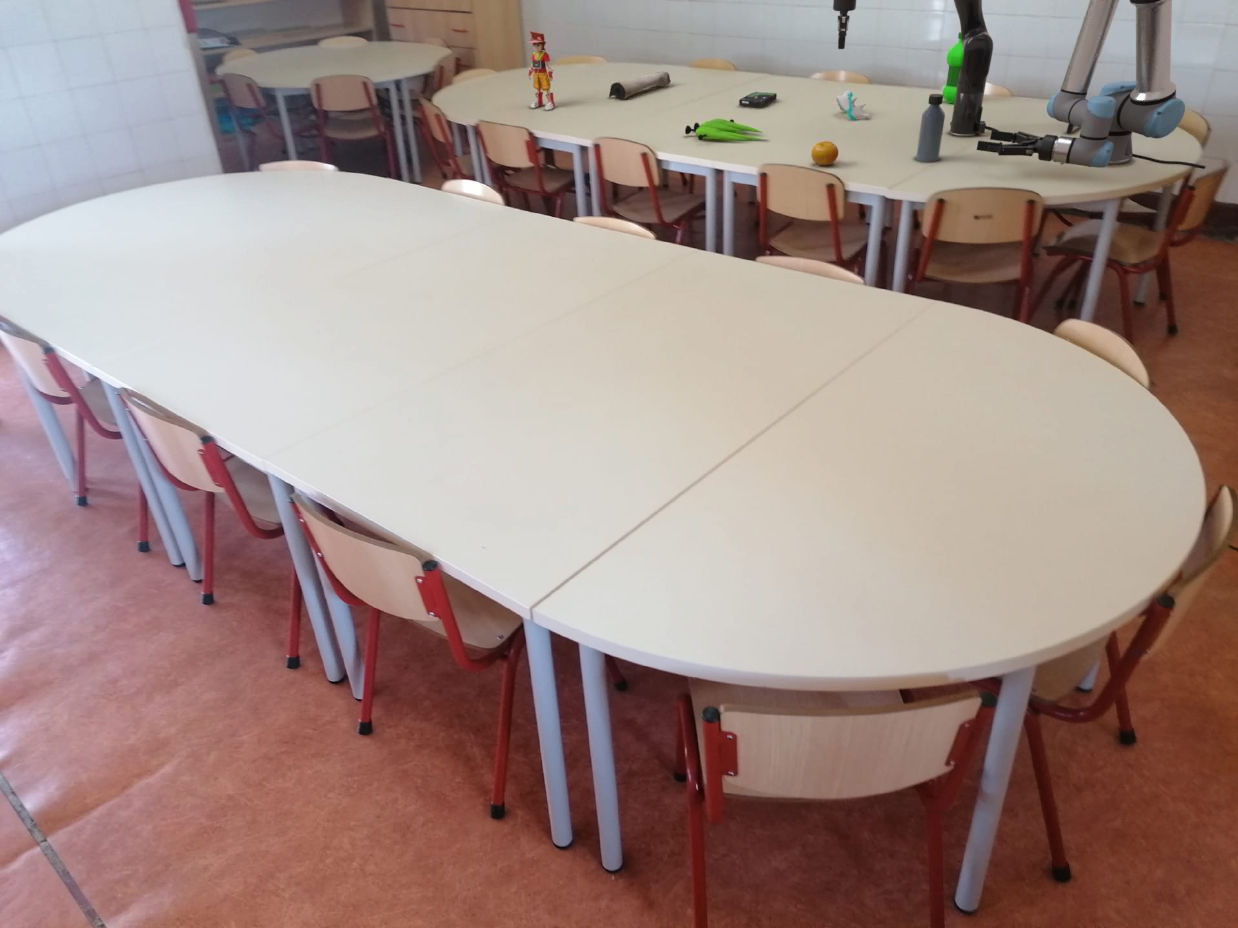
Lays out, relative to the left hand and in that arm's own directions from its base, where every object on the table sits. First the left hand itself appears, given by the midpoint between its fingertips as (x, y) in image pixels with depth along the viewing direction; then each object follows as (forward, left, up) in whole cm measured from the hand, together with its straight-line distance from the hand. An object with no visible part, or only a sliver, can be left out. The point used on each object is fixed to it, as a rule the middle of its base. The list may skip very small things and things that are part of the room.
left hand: (841, 46), depth 311 cm
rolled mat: (+84, -67, -29) cm, 111 cm away
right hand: (-46, +39, -21) cm, 64 cm away
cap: (-30, +31, -10) cm, 44 cm away
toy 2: (+38, +5, -29) cm, 48 cm away
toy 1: (+122, -40, -29) cm, 132 cm away
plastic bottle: (-46, -46, -29) cm, 71 cm away
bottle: (-30, +31, -29) cm, 52 cm away
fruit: (+3, +38, -29) cm, 48 cm away
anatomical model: (-6, -25, -29) cm, 39 cm away
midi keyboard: (-84, -7, -29) cm, 89 cm away
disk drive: (+31, -45, -29) cm, 62 cm away
